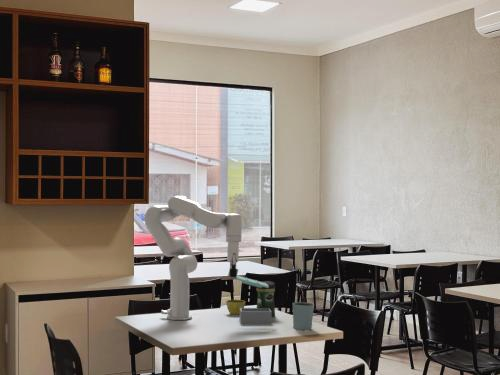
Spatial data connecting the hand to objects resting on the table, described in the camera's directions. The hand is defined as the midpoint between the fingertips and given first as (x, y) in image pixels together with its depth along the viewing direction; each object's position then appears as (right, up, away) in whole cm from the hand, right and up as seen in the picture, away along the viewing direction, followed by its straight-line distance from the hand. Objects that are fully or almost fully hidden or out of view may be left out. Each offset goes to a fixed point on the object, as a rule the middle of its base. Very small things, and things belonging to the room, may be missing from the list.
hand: (232, 276), depth 341 cm
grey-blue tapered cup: (+33, -24, -11) cm, 43 cm away
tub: (+11, -23, +2) cm, 26 cm away
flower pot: (+1, -24, +24) cm, 34 cm away
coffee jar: (+16, -24, +19) cm, 34 cm away
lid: (+7, -3, +1) cm, 8 cm away
